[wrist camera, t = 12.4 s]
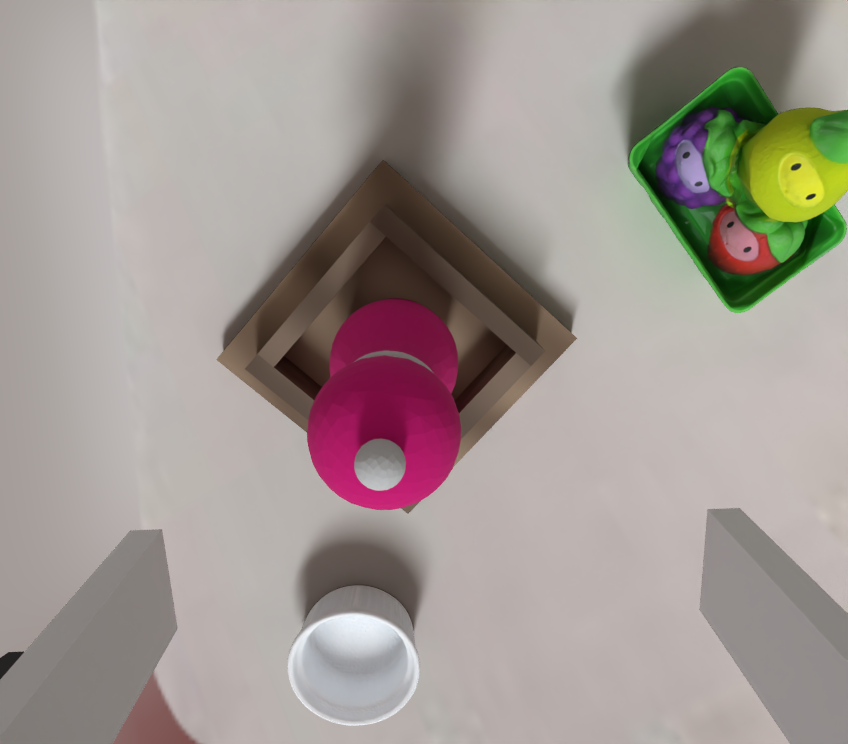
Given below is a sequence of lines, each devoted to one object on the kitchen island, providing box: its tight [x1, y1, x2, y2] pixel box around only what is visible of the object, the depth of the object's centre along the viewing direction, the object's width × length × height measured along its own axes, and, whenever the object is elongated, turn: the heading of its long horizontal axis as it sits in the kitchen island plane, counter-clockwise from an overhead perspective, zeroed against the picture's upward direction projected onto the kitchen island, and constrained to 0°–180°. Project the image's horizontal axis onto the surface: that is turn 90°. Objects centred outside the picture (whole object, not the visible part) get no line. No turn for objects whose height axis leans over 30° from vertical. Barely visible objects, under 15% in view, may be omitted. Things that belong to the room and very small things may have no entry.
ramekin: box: [287, 585, 420, 726], centre depth 46 cm, size 9×9×4 cm
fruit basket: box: [628, 67, 848, 313], centre depth 35 cm, size 11×9×11 cm
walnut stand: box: [217, 160, 577, 513], centre depth 40 cm, size 16×16×4 cm
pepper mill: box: [307, 298, 461, 510], centre depth 31 cm, size 7×7×20 cm
